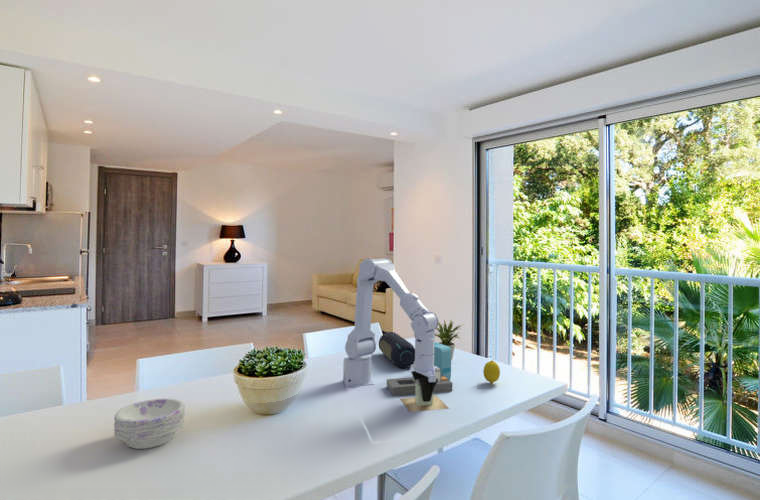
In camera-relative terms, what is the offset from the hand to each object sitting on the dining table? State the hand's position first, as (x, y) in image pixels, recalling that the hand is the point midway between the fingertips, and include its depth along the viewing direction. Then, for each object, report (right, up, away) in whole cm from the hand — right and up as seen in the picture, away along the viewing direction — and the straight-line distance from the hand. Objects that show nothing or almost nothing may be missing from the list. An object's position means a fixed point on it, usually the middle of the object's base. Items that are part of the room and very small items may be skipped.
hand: (424, 398), depth 130 cm
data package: (+6, -2, +25) cm, 26 cm away
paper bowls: (-69, -3, -24) cm, 73 cm away
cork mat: (0, -2, 0) cm, 2 cm away
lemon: (+25, -2, +19) cm, 32 cm away
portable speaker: (-6, -1, +46) cm, 46 cm away
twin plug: (+4, -2, +13) cm, 14 cm away
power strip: (0, -2, +12) cm, 12 cm away
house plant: (+14, -1, +48) cm, 50 cm away
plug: (0, -2, 0) cm, 2 cm away
